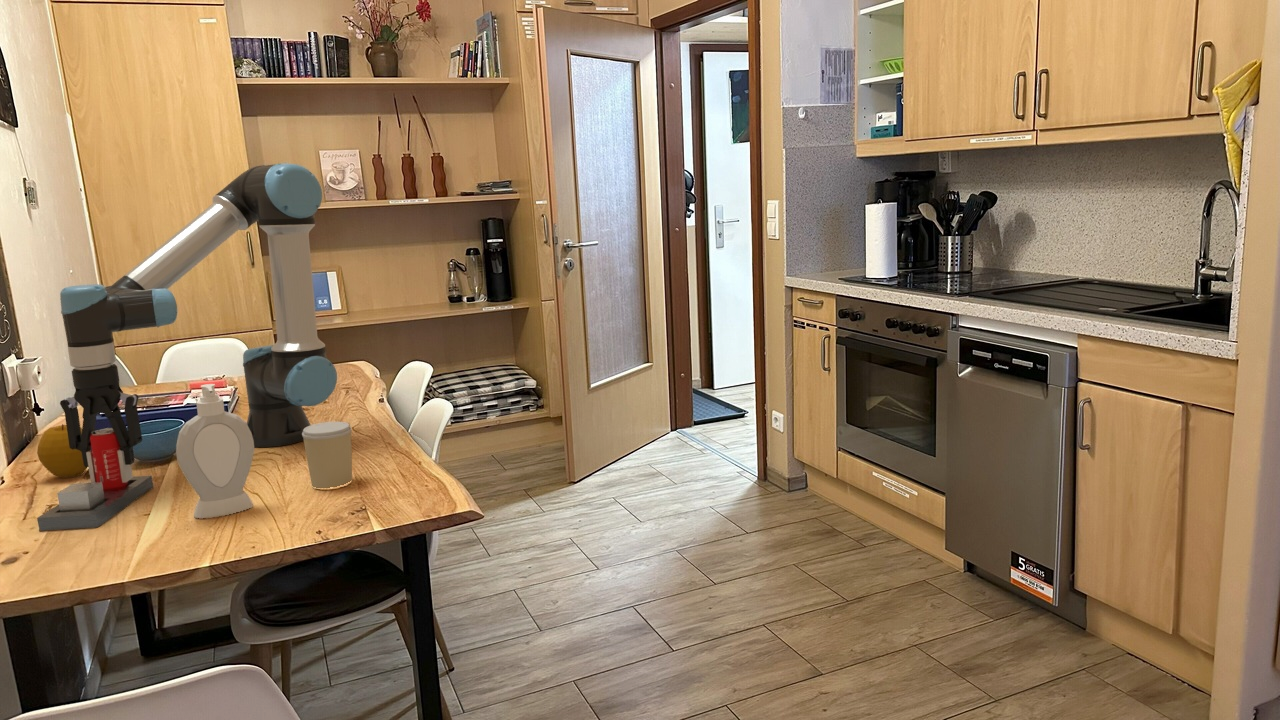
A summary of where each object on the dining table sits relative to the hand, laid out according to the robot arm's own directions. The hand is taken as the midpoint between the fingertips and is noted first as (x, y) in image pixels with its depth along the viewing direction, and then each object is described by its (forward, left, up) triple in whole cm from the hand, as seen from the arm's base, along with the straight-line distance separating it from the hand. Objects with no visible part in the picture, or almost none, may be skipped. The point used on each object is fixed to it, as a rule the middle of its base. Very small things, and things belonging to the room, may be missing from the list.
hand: (112, 480), depth 172 cm
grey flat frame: (0, +6, -3) cm, 7 cm away
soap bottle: (-26, +14, -4) cm, 29 cm away
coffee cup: (-42, 0, -4) cm, 42 cm away
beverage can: (0, 0, -2) cm, 2 cm away
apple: (+17, -16, -4) cm, 24 cm away
